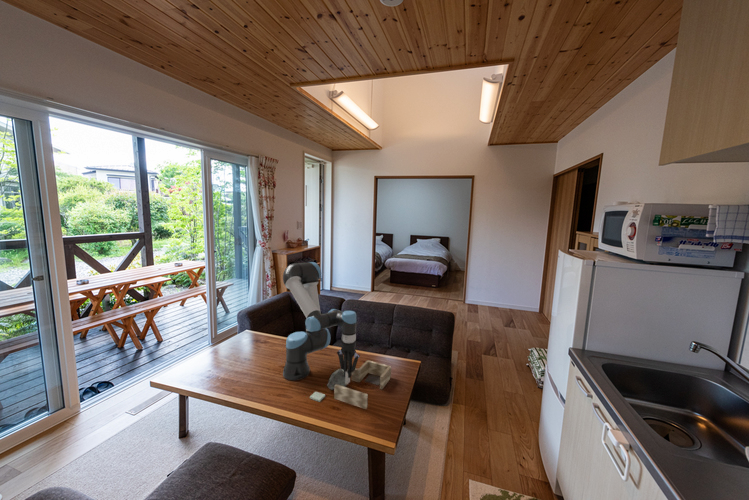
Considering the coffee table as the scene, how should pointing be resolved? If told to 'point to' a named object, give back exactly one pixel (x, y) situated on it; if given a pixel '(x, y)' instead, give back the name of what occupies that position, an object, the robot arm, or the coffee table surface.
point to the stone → (337, 379)
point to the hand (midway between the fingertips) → (347, 382)
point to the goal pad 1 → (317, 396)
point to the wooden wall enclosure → (358, 374)
